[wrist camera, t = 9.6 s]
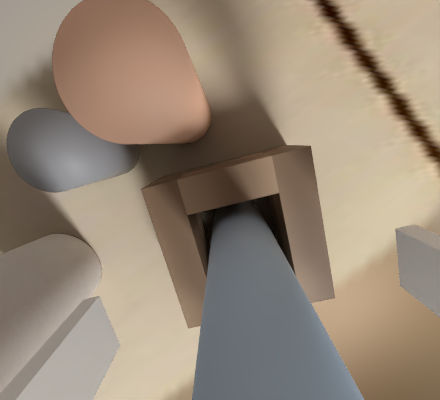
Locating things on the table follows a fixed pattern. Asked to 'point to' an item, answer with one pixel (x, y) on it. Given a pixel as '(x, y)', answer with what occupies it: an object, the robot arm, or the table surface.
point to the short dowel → (63, 152)
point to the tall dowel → (261, 322)
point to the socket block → (235, 193)
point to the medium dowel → (128, 74)
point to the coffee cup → (41, 295)
